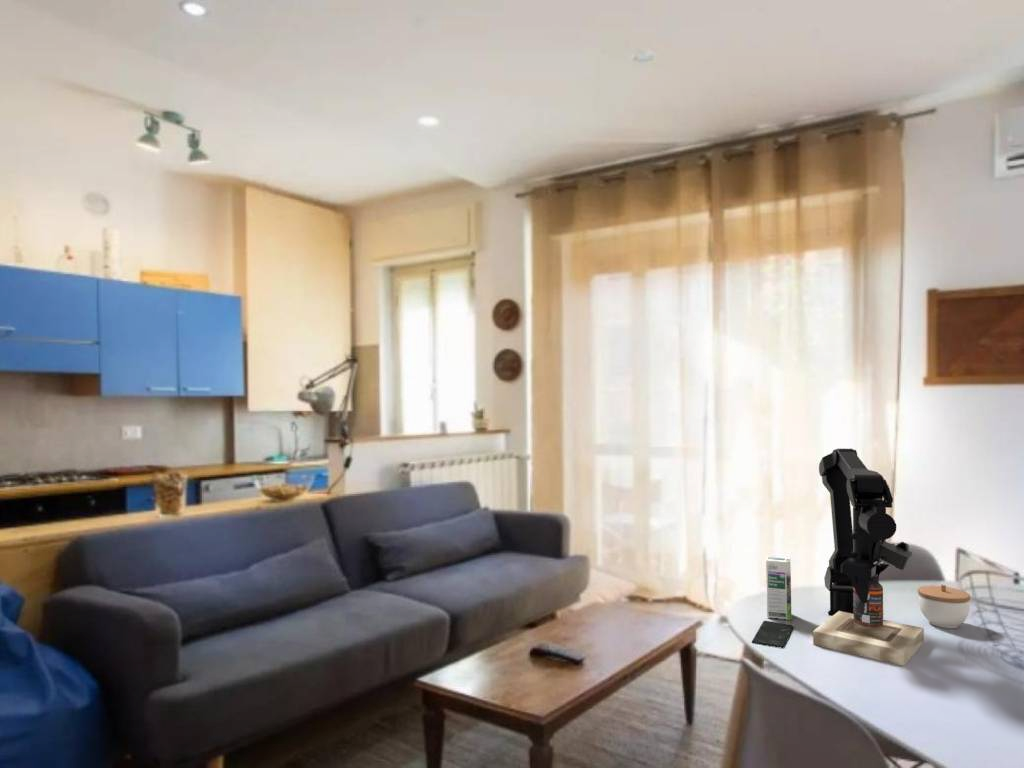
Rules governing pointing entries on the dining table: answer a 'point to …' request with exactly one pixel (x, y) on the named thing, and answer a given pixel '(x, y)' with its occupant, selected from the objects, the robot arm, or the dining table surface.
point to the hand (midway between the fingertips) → (868, 599)
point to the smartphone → (773, 634)
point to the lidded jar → (944, 605)
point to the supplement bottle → (869, 606)
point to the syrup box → (778, 587)
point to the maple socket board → (869, 638)
